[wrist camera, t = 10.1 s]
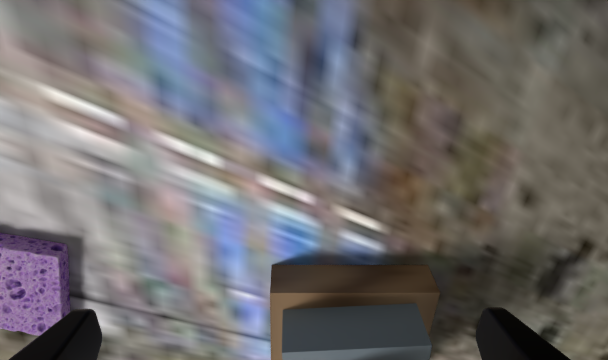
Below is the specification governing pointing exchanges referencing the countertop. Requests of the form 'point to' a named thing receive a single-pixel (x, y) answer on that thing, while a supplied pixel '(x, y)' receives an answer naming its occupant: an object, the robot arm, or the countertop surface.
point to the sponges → (32, 283)
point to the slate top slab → (355, 333)
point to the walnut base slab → (348, 290)
